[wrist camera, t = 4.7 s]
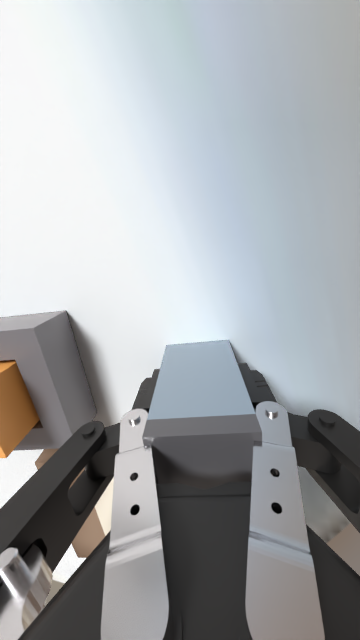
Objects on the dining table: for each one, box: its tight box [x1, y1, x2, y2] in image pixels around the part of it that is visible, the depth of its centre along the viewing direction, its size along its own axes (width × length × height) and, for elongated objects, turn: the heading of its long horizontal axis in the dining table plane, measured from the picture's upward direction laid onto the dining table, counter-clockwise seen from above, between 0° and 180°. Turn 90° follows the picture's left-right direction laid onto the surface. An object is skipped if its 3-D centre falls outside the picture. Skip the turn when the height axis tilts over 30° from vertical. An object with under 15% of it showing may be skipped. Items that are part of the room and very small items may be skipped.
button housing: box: [0, 311, 97, 450], centre depth 14 cm, size 8×8×3 cm
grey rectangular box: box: [142, 340, 262, 490], centre depth 11 cm, size 4×4×7 cm
